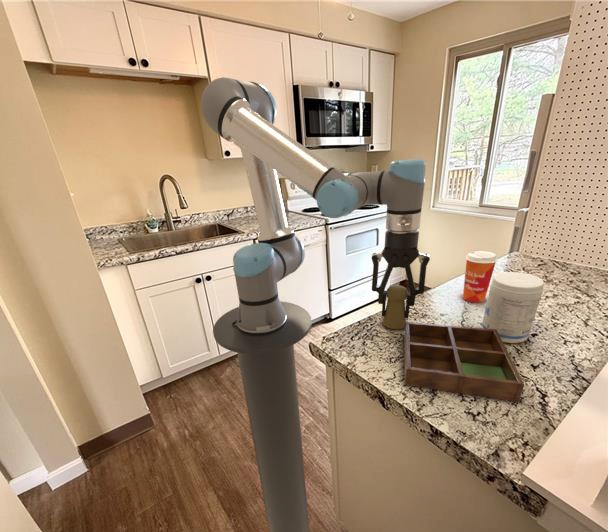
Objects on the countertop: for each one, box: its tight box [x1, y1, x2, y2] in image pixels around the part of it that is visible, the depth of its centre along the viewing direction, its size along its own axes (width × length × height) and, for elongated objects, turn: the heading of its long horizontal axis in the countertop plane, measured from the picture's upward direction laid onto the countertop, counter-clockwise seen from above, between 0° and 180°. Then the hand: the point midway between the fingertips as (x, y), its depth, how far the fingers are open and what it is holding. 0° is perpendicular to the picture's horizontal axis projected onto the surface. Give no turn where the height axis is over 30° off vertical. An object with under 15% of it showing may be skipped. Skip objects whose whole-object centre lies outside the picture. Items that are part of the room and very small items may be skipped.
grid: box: [403, 321, 525, 403], centre depth 67 cm, size 19×19×4 cm
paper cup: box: [462, 250, 498, 304], centre depth 91 cm, size 8×8×14 cm
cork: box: [382, 284, 409, 330], centre depth 83 cm, size 6×6×11 cm
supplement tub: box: [480, 271, 545, 344], centre depth 73 cm, size 10×10×15 cm
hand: (394, 314), depth 84 cm, fingers closed on cork, 5 cm apart
